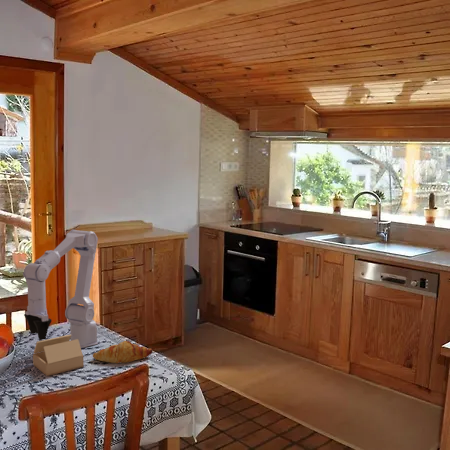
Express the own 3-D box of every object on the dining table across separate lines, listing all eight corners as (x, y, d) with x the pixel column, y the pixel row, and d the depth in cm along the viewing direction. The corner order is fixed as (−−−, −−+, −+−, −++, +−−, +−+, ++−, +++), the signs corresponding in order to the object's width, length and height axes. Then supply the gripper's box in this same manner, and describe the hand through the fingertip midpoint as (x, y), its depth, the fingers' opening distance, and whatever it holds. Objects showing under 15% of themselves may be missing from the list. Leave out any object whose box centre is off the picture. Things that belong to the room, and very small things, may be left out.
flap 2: (77, 339, 190) (78, 339, 189) (82, 355, 188) (82, 355, 187) (43, 347, 182) (43, 346, 182) (47, 364, 180) (48, 363, 180)
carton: (68, 356, 198) (68, 345, 197) (83, 366, 189) (83, 355, 188) (33, 365, 189) (32, 353, 189) (46, 376, 180) (46, 364, 180)
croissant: (92, 373, 192) (91, 358, 187) (93, 351, 200) (92, 336, 195) (153, 367, 196) (153, 352, 192) (151, 346, 204) (151, 331, 200)
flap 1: (67, 345, 197) (67, 344, 197) (71, 335, 194) (70, 334, 194) (34, 353, 189) (33, 352, 189) (37, 342, 186) (36, 341, 186)
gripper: (17, 295, 190) (19, 332, 192) (32, 304, 179) (34, 344, 181) (38, 292, 194) (39, 328, 196) (53, 301, 183) (55, 340, 185)
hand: (38, 336), depth 189 cm, fingers open, 7 cm apart
